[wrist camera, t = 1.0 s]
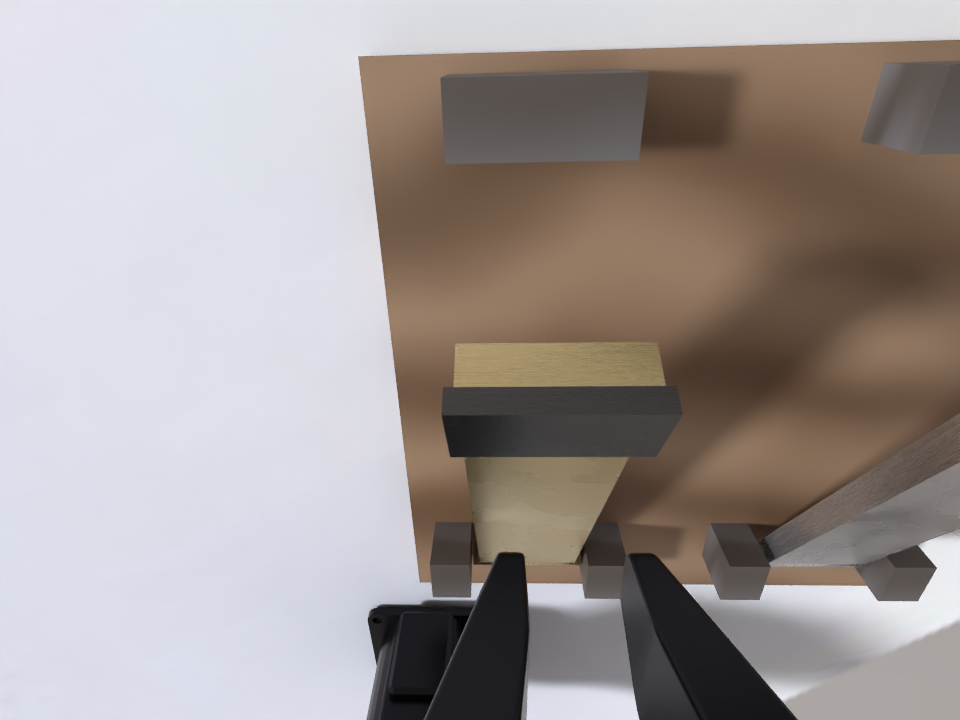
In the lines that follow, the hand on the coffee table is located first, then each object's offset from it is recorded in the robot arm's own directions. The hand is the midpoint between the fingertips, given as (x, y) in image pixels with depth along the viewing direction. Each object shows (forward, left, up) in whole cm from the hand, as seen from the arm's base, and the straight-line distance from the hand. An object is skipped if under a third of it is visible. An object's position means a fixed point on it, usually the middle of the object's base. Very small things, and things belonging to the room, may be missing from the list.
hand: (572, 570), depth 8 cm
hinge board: (-4, -6, -13) cm, 15 cm away
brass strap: (-5, 0, -8) cm, 9 cm away
